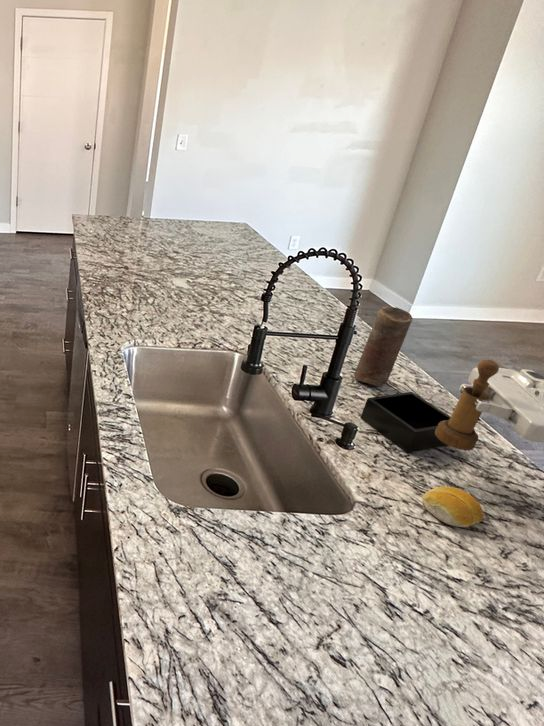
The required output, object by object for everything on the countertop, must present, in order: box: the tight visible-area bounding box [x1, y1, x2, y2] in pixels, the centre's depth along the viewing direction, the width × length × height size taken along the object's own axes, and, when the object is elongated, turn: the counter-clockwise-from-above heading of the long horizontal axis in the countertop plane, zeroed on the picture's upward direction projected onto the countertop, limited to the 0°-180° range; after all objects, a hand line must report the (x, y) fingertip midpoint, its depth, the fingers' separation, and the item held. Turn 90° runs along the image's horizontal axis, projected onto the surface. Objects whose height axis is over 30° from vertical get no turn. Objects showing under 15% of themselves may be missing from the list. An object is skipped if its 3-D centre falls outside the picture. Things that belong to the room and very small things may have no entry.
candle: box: [353, 306, 413, 387], centre depth 135 cm, size 8×7×20 cm
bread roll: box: [421, 486, 484, 528], centre depth 98 cm, size 8×9×4 cm
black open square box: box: [360, 391, 451, 454], centre depth 119 cm, size 13×13×6 cm
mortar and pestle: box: [435, 359, 500, 451], centre depth 102 cm, size 7×6×18 cm
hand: (468, 396), depth 102 cm, fingers closed on mortar and pestle, 4 cm apart
